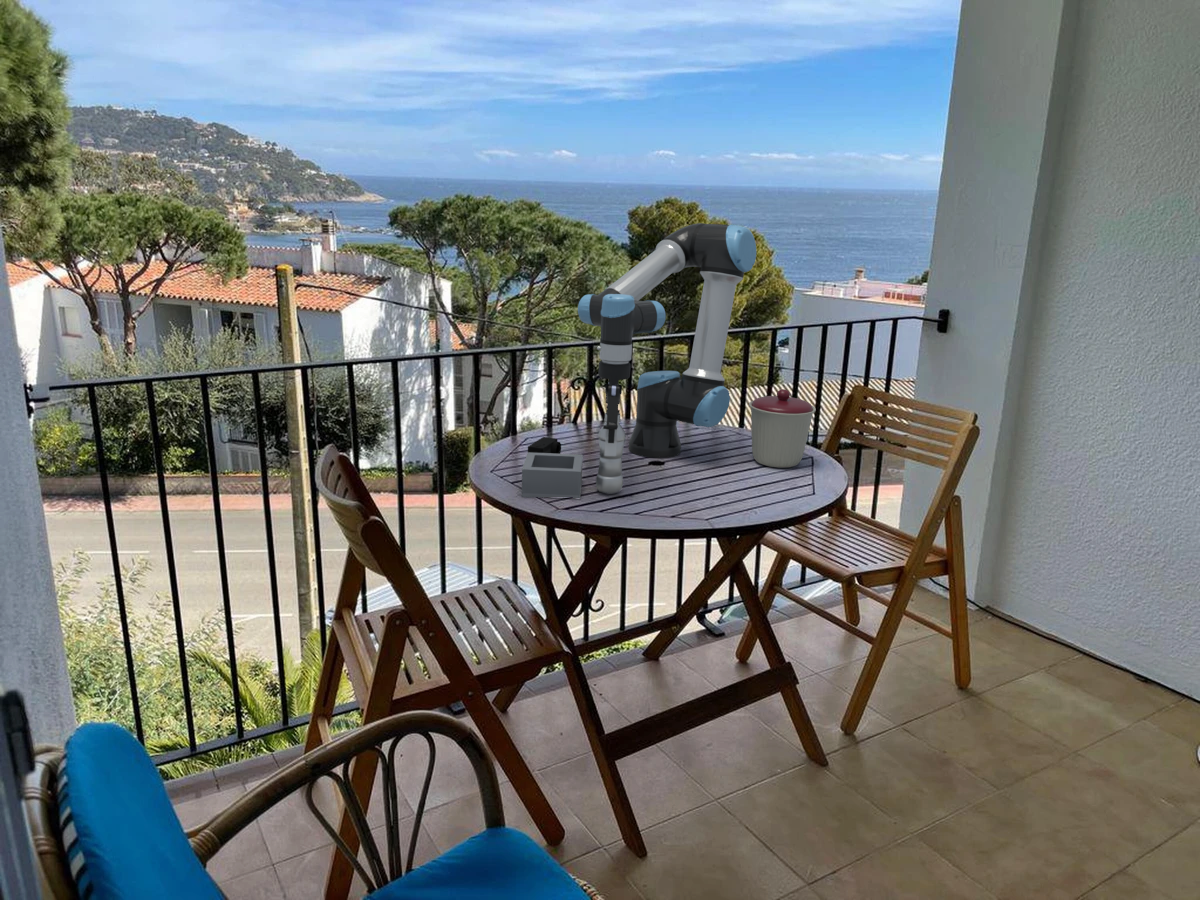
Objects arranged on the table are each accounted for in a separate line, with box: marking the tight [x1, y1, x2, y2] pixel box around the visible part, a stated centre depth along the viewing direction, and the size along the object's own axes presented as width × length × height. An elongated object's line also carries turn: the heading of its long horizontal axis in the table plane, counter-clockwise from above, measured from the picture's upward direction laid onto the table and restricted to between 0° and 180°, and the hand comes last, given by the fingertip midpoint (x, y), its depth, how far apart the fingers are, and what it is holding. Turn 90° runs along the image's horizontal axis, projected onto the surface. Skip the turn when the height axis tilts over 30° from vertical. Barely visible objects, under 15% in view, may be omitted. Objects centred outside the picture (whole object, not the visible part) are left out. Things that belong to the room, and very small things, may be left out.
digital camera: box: [527, 436, 562, 454], centre depth 226 cm, size 10×5×7 cm, turn 161°
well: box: [521, 451, 584, 499], centre depth 209 cm, size 14×14×7 cm
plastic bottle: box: [595, 412, 627, 495], centre depth 207 cm, size 6×7×20 cm
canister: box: [748, 388, 817, 469], centre depth 236 cm, size 18×18×21 cm
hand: (610, 447), depth 206 cm, fingers open, 13 cm apart
